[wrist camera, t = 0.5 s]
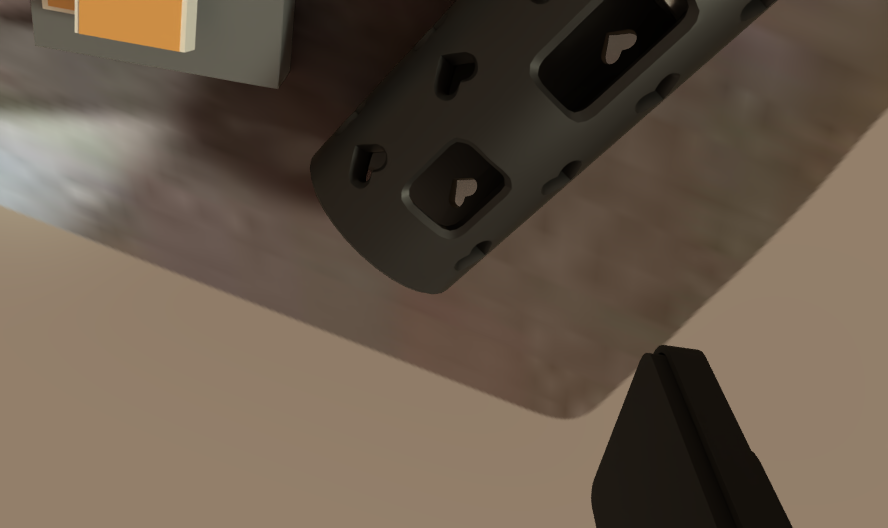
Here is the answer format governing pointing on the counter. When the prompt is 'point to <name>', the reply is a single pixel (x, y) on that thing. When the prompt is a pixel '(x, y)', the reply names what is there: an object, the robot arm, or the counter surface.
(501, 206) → the muzzle brake
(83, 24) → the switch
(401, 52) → the counter surface
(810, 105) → the counter surface
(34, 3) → the switch unit
